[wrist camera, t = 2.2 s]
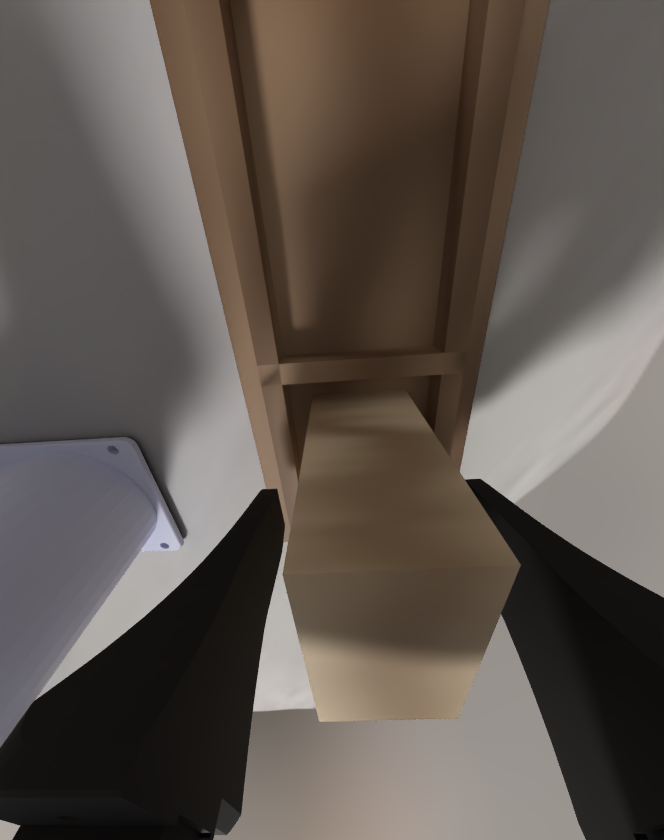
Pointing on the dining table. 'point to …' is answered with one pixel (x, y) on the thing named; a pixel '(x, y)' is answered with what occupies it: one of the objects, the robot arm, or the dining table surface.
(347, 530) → the plain beige carton
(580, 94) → the dining table surface
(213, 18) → the brown framed tray
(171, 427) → the dining table surface
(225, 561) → the robot arm
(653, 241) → the dining table surface
